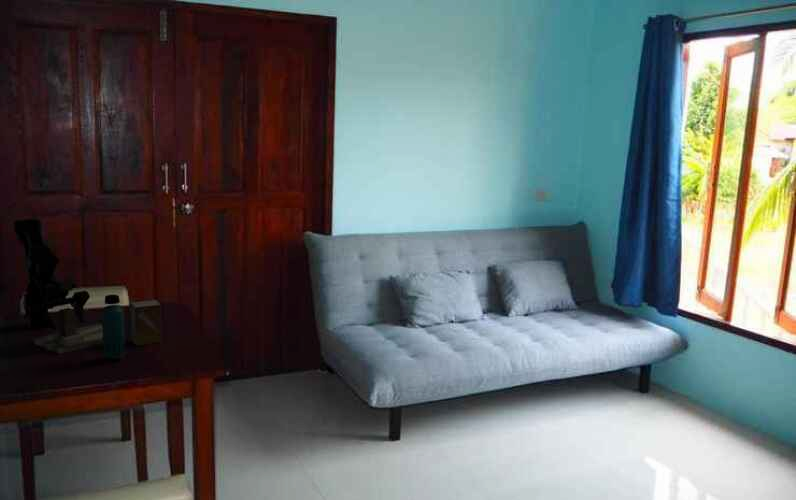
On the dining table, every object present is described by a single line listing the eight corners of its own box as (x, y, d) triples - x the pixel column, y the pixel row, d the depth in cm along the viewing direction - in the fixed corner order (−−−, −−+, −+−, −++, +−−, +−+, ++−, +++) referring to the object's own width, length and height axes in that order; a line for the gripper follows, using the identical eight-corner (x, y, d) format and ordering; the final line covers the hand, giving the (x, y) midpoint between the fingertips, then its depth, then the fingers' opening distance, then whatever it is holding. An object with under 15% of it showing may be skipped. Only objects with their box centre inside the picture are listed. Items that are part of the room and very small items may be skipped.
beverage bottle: (112, 365, 206) (109, 299, 202) (98, 360, 209) (95, 295, 205) (131, 359, 211) (128, 295, 207) (117, 354, 214) (114, 291, 210)
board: (33, 343, 221) (33, 338, 221) (97, 327, 239) (97, 323, 239) (59, 354, 213) (59, 349, 212) (123, 337, 230) (123, 332, 230)
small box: (136, 346, 222) (134, 307, 219) (131, 340, 227) (129, 302, 225) (161, 342, 226) (160, 304, 224) (156, 337, 232) (155, 299, 229)
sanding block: (52, 342, 218) (50, 309, 216) (70, 337, 223) (68, 305, 221) (66, 348, 214) (64, 314, 212) (84, 343, 219) (82, 310, 216)
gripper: (27, 275, 209) (48, 318, 205) (85, 266, 224) (106, 305, 220) (15, 296, 215) (36, 338, 211) (73, 285, 230) (93, 324, 226)
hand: (69, 325), depth 217 cm, fingers open, 9 cm apart
